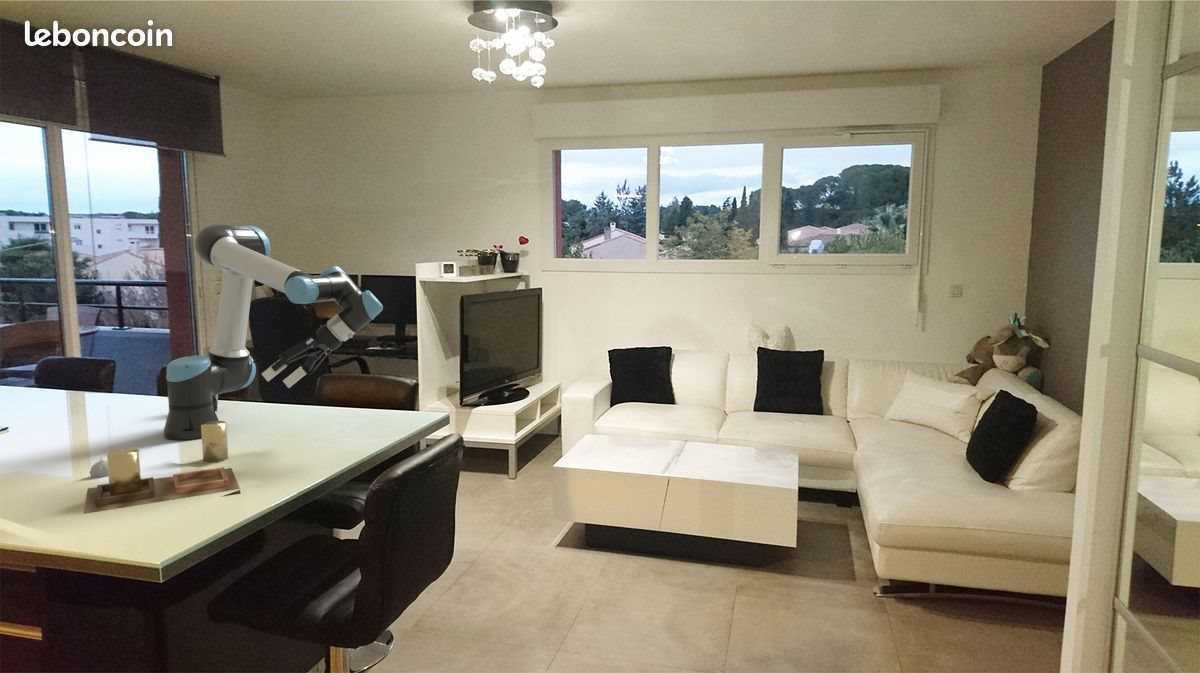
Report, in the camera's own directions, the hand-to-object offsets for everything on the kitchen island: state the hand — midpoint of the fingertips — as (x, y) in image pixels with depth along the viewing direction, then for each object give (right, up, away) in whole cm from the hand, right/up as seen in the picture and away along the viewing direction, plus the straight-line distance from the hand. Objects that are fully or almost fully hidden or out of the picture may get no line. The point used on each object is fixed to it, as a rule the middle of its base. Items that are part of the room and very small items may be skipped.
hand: (275, 381), depth 202 cm
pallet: (-10, -24, -36) cm, 44 cm away
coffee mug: (-43, -13, +44) cm, 63 cm away
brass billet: (-12, -21, -10) cm, 26 cm away
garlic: (-31, -23, -26) cm, 46 cm away
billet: (-16, -23, -40) cm, 49 cm away
